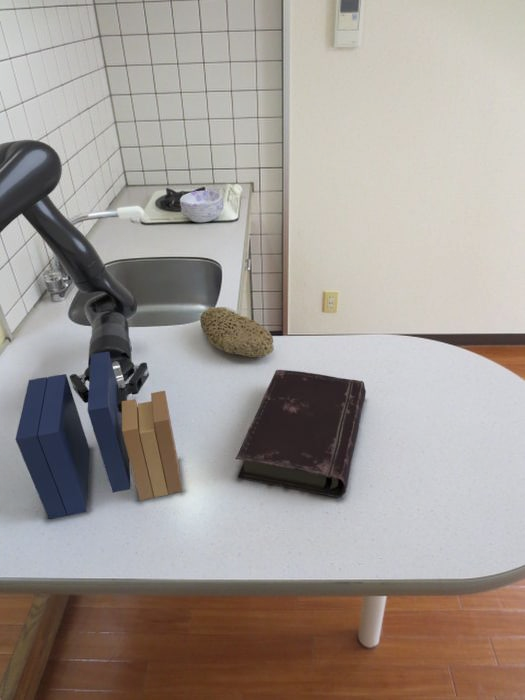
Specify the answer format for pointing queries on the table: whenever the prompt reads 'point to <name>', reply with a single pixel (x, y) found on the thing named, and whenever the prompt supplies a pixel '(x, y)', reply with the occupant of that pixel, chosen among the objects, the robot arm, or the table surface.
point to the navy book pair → (54, 446)
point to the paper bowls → (202, 205)
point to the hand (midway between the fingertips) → (109, 409)
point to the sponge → (235, 333)
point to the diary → (304, 433)
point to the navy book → (108, 421)
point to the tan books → (151, 446)
